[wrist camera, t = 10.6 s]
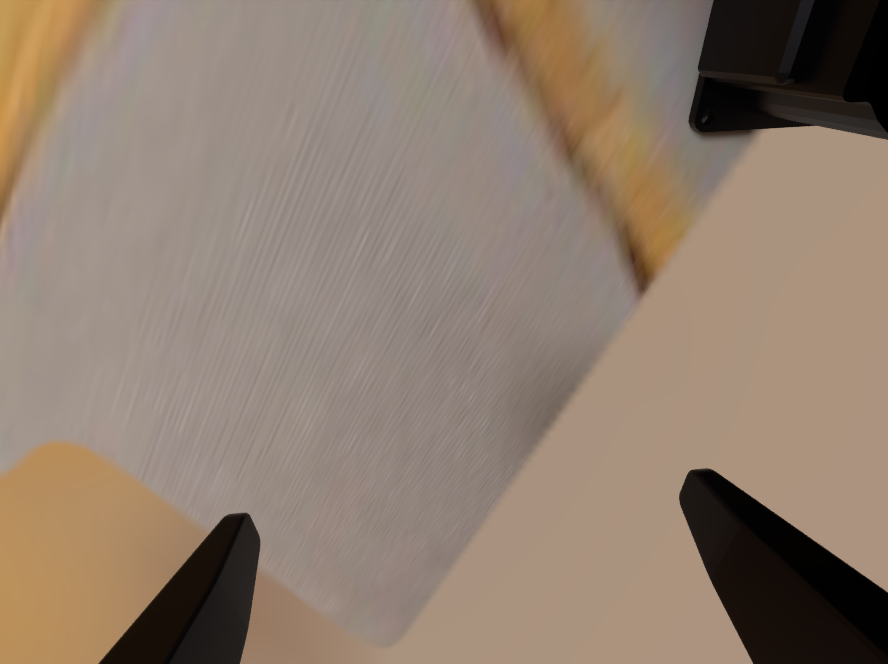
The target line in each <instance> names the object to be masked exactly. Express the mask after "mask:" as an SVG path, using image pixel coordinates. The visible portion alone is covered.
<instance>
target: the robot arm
mask: <svg viewBox="0 0 888 664" xmlns="http://www.w3.org/2000/svg"><path fill="white" fill-rule="evenodd" d="M698 70H699V72H700V73H699V78H698V82H697V86H696V90H695V94H694V99H693V103H692V107H691V111H690V115H689V124H690V127H691V128H692V129H694V130H697V131H700V132H717V131H734V130H751V129H768V128H784V127H801V126H821V127H826V128H832V129H836V130H842V131H847V132H852V133H857V134H862V135H867V136H872V137H877V138H882V139H887V140H888V0H714V1H713V5H712V10H711V14H710V18H709V22H708V27H707V31H706V35H705V39H704V44H703V48H702V52H701V56H700V61H699V65H698ZM706 111H709V116H708V118H707V120H706V121H705V122H703V123H702V122H701V118H702V116H703V114H704V113H705V112H706ZM679 500H680V505H681V508H682V511H683V513H684V515H685V518H686V520H687V523H688V526H689V528H690V531H691V533H692V536H693V538H694V541H695V543H696V546H697V548H698V551H699V553H700V556H701V558H702V561H703V563H704V566H705V568H706V571H707V573H708V575H709V577H710V580H711V582H712V584H713V586H714V588H715V590H716V592H717V594H718V596H719V598H720V600H721V602H722V604H723V606H724V608H725V609H726V611H727V613H728V615H729V617H730V619H731V621H732V623H733V625H734V627H735V629H736V631H737V633H738V635H739V637H740V639H741V641H742V643H743V645H744V647H745V648H746V650H747V652H748V654H749V656H750V658H751V660H752V662H753V664H888V592H886V591H885V590H884V589H882V588H881V587H879V586H878V585H876V584H875V583H873V582H872V581H871V580H869V579H868V578H867V577H865V576H863V575H862V574H861V573H859V572H858V571H857V570H855V569H854V568H852V567H851V566H849V565H848V564H847V563H845V562H844V561H842V560H841V559H839V558H838V557H837V556H835V555H834V554H832V553H831V552H829V551H828V550H827V549H825V548H824V547H822V546H821V545H820V544H818V543H817V542H815V541H814V540H812V539H811V538H810V537H808V536H807V535H805V534H804V533H802V532H801V531H799V530H798V529H797V528H795V527H794V526H792V525H791V524H790V523H788V522H787V521H785V520H784V519H782V518H781V517H780V516H778V515H777V514H775V513H774V512H772V511H771V510H770V509H768V508H767V507H765V506H764V505H762V504H761V503H759V502H758V501H757V500H755V499H754V498H752V497H751V496H750V495H748V494H747V493H745V492H744V491H743V490H741V489H740V488H738V487H737V486H735V485H734V484H733V483H731V482H730V481H728V480H727V479H725V478H724V477H723V476H721V475H720V474H718V473H717V472H715V471H714V470H711V469H695V470H691V471H689V473H688V474H687V476H686V479H685V482H684V484H683V486H682V489H681V491H680V495H679ZM259 552H260V537H259V534H258V532H257V529H256V527H255V525H254V523H253V521H252V519H251V517H250V515H249V514H248V513H236V514H229V515H227V516H225V517H224V518H223V519H222V520H221V521H220V522H219V523H218V524H217V526H216V527H215V528H214V529H213V530H212V531H211V533H210V534H209V535H208V536H207V537H206V538H205V540H204V541H203V542H202V543H201V544H200V545H199V547H198V548H197V549H196V550H195V551H194V552H193V554H192V555H191V556H190V557H189V558H188V559H187V561H186V562H185V563H184V564H183V565H182V567H181V568H180V569H179V570H178V571H177V572H176V574H175V575H174V576H173V577H172V578H171V579H170V581H169V582H168V583H167V584H166V585H165V586H164V588H163V589H162V590H161V591H160V592H159V593H158V595H157V596H156V597H155V598H154V599H153V600H152V602H151V603H150V604H149V605H148V606H147V608H146V609H145V610H144V611H143V612H142V613H141V614H140V616H139V617H138V618H137V619H136V620H135V622H134V623H133V624H132V625H131V626H130V627H129V629H128V630H127V631H126V632H125V633H124V634H123V636H122V637H121V638H120V639H119V640H118V642H117V643H116V644H115V645H114V646H113V647H112V648H111V650H110V651H109V652H108V653H107V654H106V655H105V657H104V658H103V659H102V660H101V661H100V663H99V664H240V661H241V657H242V653H243V649H244V645H245V640H246V636H247V631H248V626H249V620H250V614H251V607H252V600H253V593H254V586H255V580H256V573H257V566H258V559H259Z"/></svg>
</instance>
